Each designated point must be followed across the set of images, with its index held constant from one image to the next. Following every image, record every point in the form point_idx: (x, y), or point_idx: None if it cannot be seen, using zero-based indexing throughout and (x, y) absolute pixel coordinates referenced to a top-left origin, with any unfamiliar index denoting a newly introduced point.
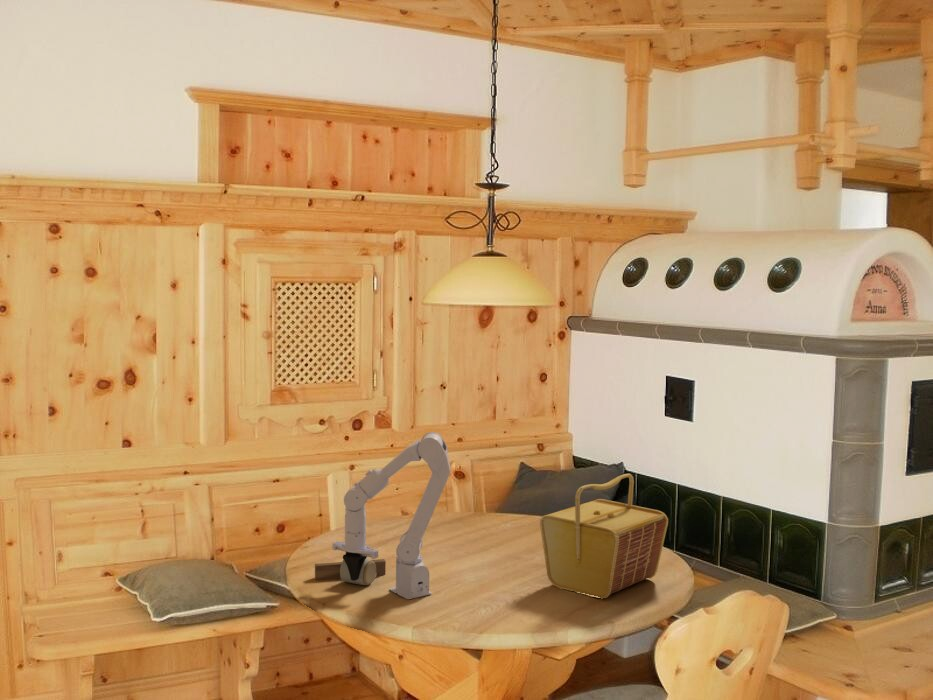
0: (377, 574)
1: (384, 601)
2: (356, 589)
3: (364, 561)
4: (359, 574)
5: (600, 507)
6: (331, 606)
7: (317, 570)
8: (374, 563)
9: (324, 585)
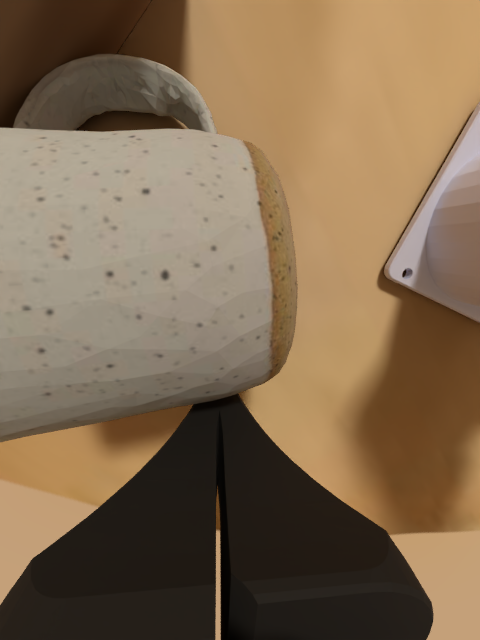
0: (142, 2)
1: (416, 402)
2: None
3: (229, 361)
4: (238, 396)
5: None
6: None
7: None
8: (285, 200)
9: None
